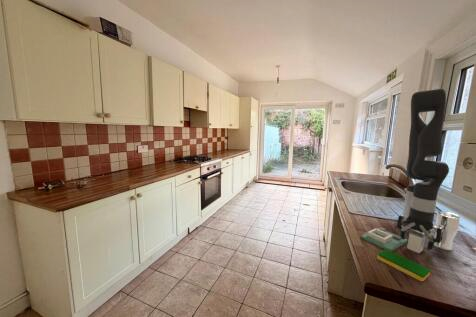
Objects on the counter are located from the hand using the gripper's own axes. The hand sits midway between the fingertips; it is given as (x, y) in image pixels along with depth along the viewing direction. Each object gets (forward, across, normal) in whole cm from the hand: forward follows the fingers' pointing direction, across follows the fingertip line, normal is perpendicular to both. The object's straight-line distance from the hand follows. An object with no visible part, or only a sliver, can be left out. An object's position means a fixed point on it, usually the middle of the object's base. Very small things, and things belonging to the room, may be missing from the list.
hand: (415, 243), depth 83 cm
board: (+3, +10, +4) cm, 11 cm away
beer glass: (+3, -5, -14) cm, 15 cm away
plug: (+3, 0, 0) cm, 3 cm away
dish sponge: (+3, -2, +18) cm, 18 cm away
